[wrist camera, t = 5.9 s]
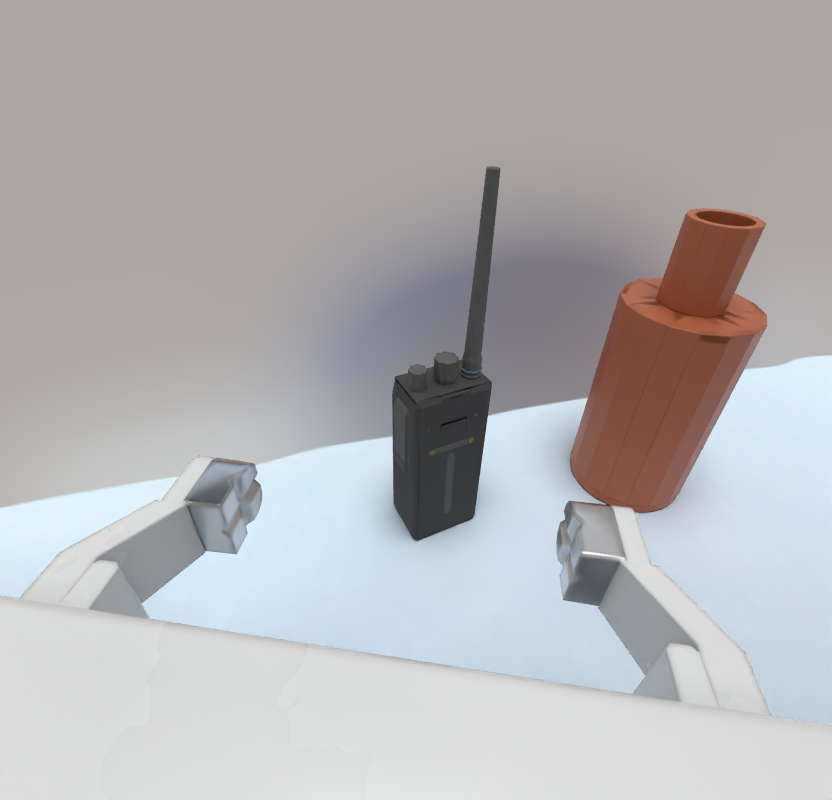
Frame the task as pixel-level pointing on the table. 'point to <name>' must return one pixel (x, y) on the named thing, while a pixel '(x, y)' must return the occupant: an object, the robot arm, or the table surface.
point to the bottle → (670, 365)
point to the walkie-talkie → (446, 413)
